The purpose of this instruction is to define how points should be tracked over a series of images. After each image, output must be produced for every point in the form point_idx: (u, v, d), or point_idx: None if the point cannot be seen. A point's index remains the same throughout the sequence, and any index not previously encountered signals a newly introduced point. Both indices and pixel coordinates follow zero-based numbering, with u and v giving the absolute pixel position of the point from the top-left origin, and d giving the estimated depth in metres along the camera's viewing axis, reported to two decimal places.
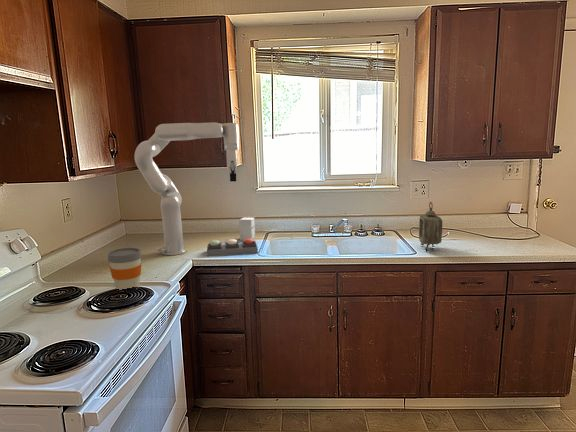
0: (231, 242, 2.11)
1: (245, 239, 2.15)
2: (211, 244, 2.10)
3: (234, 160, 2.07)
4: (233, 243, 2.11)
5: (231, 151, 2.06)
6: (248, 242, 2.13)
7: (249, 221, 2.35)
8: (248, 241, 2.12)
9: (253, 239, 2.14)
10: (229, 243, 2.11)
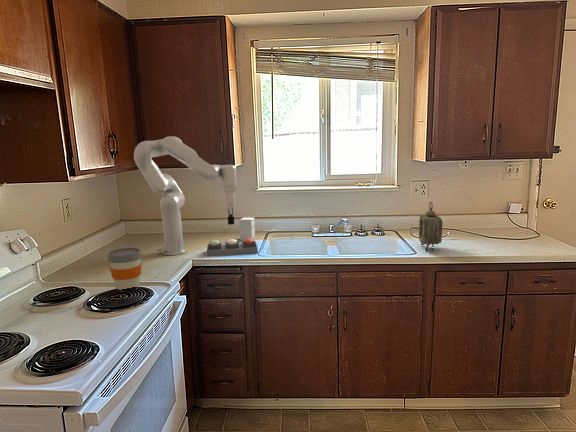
0: (231, 242, 2.11)
1: (245, 239, 2.15)
2: (211, 244, 2.10)
3: (232, 203, 2.05)
4: (233, 243, 2.11)
5: (229, 194, 2.04)
6: (248, 242, 2.13)
7: (249, 221, 2.35)
8: (248, 241, 2.12)
9: (253, 239, 2.14)
10: (229, 243, 2.11)
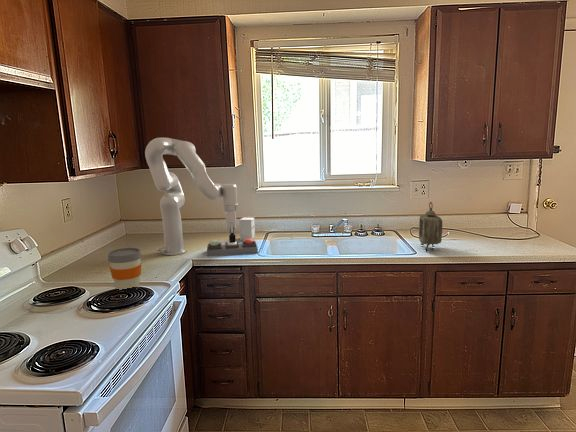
0: (231, 244, 2.11)
1: (245, 239, 2.15)
2: (211, 244, 2.10)
3: (233, 221, 2.07)
4: None
5: (230, 213, 2.06)
6: (248, 242, 2.13)
7: (249, 221, 2.35)
8: (248, 241, 2.12)
9: (253, 239, 2.14)
10: None
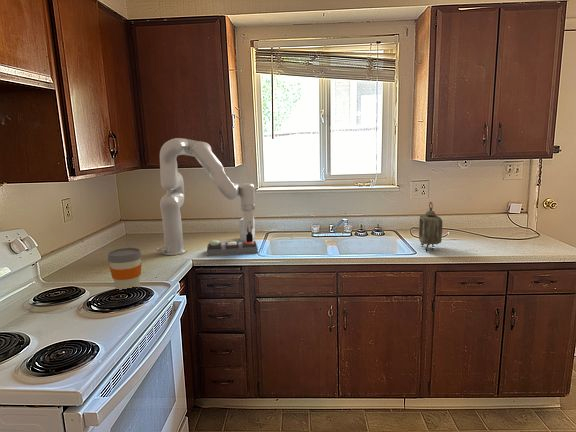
0: (231, 244, 2.11)
1: (245, 241, 2.15)
2: (211, 244, 2.10)
3: (251, 221, 2.08)
4: None
5: (248, 212, 2.07)
6: None
7: None
8: (248, 243, 2.13)
9: (253, 241, 2.15)
10: None
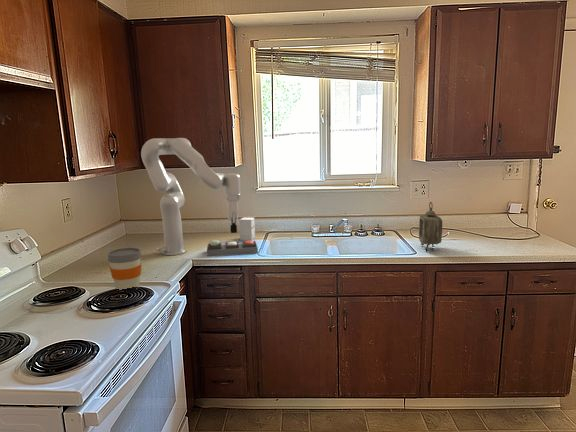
0: (231, 244, 2.11)
1: (245, 241, 2.15)
2: (211, 244, 2.10)
3: (235, 211, 2.06)
4: None
5: (232, 202, 2.05)
6: None
7: (249, 221, 2.35)
8: (248, 243, 2.13)
9: (253, 241, 2.15)
10: None
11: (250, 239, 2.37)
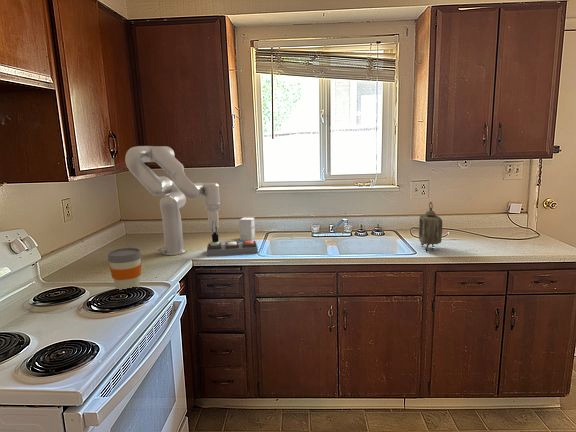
0: (231, 244, 2.11)
1: (245, 241, 2.15)
2: (211, 244, 2.10)
3: (215, 221, 2.05)
4: None
5: (212, 212, 2.04)
6: None
7: (249, 221, 2.35)
8: (248, 243, 2.13)
9: (253, 241, 2.15)
10: None
11: (250, 239, 2.37)
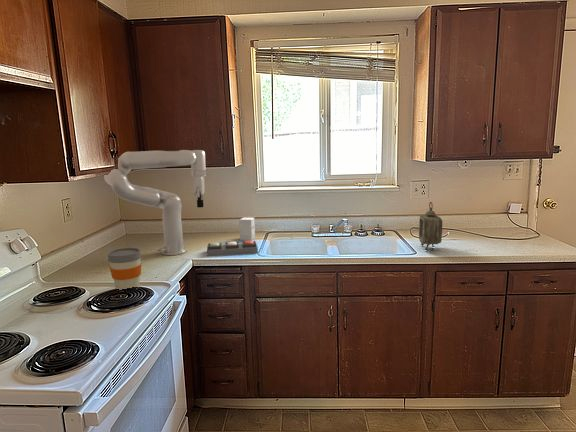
0: (231, 244, 2.11)
1: (245, 241, 2.15)
2: None
3: (200, 186, 2.14)
4: None
5: (197, 177, 2.14)
6: None
7: (249, 221, 2.35)
8: (248, 243, 2.13)
9: (253, 241, 2.15)
10: None
11: (250, 239, 2.37)
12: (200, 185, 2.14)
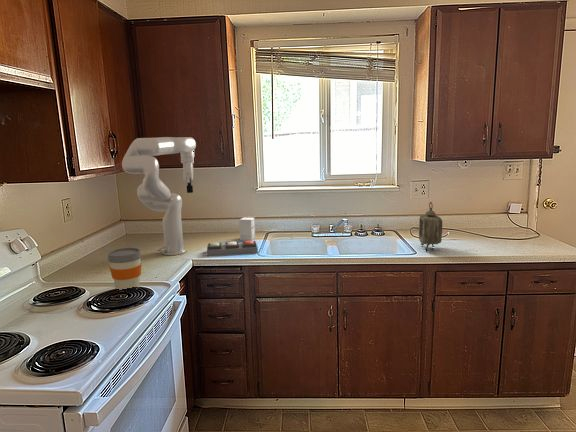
0: (231, 244, 2.11)
1: (245, 241, 2.15)
2: None
3: (190, 172, 2.24)
4: None
5: (186, 164, 2.23)
6: None
7: (249, 221, 2.35)
8: (248, 243, 2.13)
9: (253, 241, 2.15)
10: None
11: (250, 239, 2.37)
12: (190, 171, 2.24)
